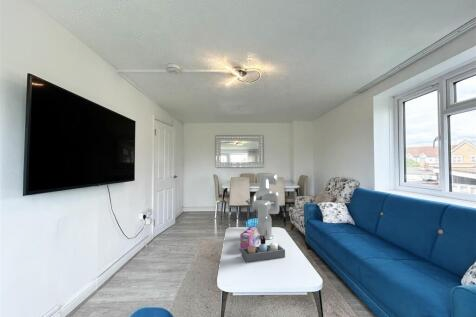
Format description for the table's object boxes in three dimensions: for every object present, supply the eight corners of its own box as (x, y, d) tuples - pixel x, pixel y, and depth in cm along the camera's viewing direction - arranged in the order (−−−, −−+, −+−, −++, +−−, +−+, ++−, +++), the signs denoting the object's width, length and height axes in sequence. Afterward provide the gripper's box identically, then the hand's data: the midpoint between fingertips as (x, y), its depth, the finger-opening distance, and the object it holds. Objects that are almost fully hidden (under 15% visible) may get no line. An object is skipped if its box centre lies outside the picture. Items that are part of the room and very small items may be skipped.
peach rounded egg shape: (246, 254, 164) (246, 245, 164) (253, 253, 166) (253, 245, 166) (249, 257, 159) (249, 248, 159) (256, 256, 161) (256, 247, 161)
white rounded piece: (269, 251, 170) (269, 243, 170) (275, 250, 171) (275, 242, 171) (272, 254, 164) (272, 245, 164) (279, 253, 166) (279, 245, 166)
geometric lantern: (252, 227, 241) (253, 194, 241) (264, 230, 231) (265, 196, 231) (243, 230, 229) (244, 196, 229) (256, 233, 219) (257, 198, 219)
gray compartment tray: (241, 255, 166) (241, 248, 167) (277, 251, 175) (277, 244, 175) (246, 262, 155) (246, 254, 155) (285, 257, 164) (285, 249, 164)
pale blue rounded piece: (258, 252, 167) (258, 244, 167) (264, 251, 169) (264, 243, 169) (260, 255, 162) (260, 247, 162) (268, 254, 163) (268, 246, 163)
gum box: (251, 241, 197) (250, 226, 197) (259, 242, 194) (259, 227, 194) (240, 251, 175) (239, 234, 175) (249, 253, 172) (249, 235, 172)
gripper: (254, 217, 172) (254, 240, 172) (262, 222, 157) (262, 248, 157) (263, 216, 174) (263, 239, 174) (271, 221, 160) (272, 247, 160)
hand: (262, 243), depth 166 cm, fingers closed
